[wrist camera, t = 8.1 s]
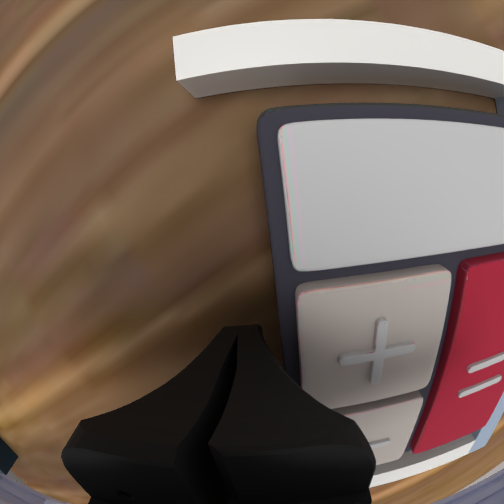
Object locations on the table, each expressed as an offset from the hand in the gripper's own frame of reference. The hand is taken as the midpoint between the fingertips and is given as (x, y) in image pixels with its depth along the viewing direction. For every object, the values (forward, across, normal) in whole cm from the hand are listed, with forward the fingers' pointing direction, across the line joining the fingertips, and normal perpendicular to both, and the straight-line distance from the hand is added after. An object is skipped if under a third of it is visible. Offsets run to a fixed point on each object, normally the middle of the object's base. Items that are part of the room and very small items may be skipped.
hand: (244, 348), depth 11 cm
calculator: (+2, -7, 0) cm, 7 cm away
